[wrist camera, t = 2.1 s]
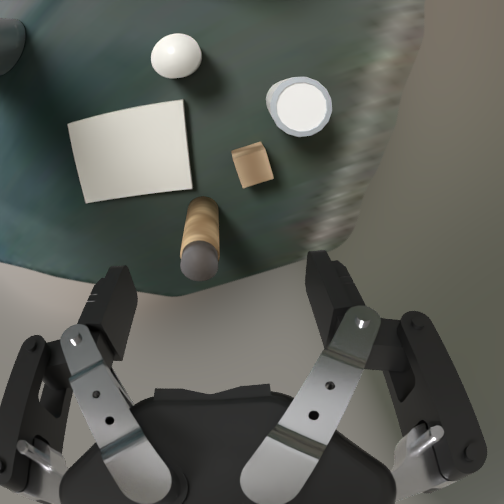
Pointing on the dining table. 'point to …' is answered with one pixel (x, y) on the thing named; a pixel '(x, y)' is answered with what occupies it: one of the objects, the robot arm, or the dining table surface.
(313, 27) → the dining table surface
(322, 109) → the white tapered cylinder
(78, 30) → the dining table surface
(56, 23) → the dining table surface
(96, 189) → the stone tile
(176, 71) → the white rounded cylinder
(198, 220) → the pepper mill
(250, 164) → the wooden block
